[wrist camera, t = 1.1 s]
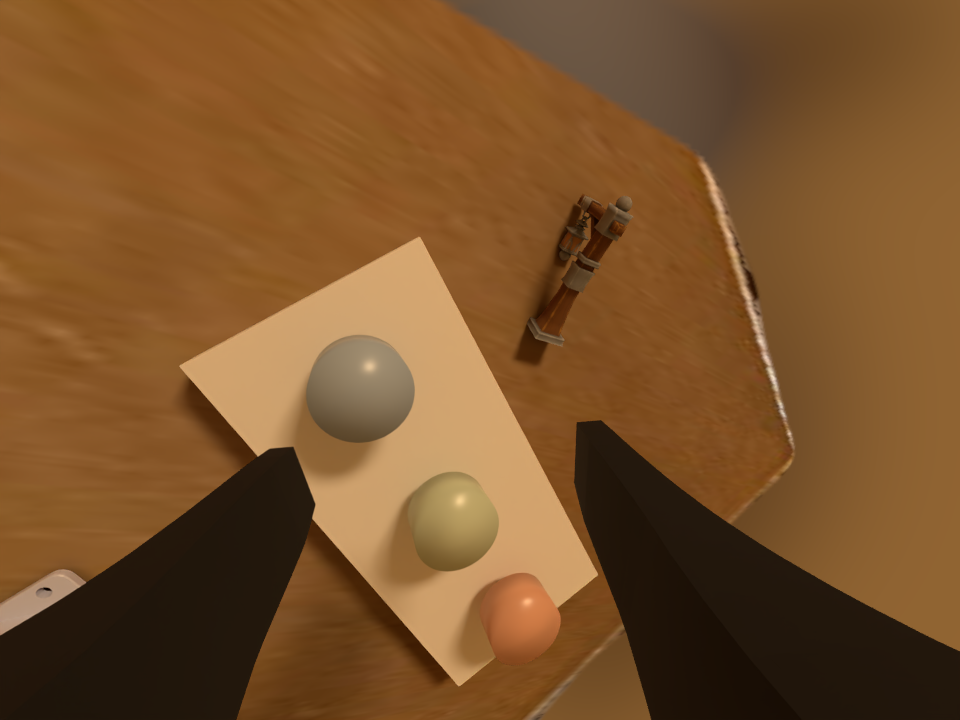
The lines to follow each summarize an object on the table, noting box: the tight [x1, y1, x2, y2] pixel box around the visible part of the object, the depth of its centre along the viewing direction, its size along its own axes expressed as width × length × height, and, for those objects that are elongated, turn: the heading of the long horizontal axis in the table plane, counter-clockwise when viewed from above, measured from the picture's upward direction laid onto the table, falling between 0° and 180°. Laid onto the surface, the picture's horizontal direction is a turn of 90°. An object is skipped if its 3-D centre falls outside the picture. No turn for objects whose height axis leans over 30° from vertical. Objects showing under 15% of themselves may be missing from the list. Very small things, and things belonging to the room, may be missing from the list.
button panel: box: [179, 237, 598, 686], centre depth 21 cm, size 11×24×2 cm, turn 29°
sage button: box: [408, 472, 499, 572], centre depth 18 cm, size 4×4×2 cm
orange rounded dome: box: [480, 573, 561, 666], centre depth 21 cm, size 4×4×2 cm
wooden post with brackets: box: [527, 194, 633, 347], centre depth 21 cm, size 2×8×4 cm, turn 162°
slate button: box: [306, 335, 415, 443], centre depth 16 cm, size 4×4×2 cm
